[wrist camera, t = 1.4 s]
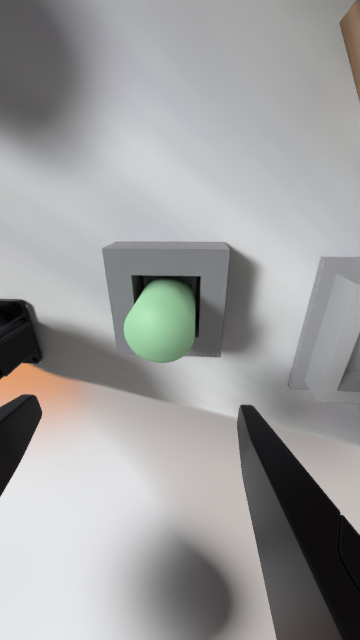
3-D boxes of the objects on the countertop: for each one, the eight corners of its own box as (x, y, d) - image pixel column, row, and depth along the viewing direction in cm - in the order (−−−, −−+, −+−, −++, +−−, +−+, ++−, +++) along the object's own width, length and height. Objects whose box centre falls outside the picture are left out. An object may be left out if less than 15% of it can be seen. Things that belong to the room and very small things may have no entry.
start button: (143, 325, 18) (127, 361, 14) (139, 275, 16) (119, 299, 12) (194, 327, 18) (194, 364, 14) (196, 276, 16) (195, 301, 12)
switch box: (128, 334, 21) (117, 353, 18) (116, 241, 17) (102, 248, 15) (217, 337, 20) (220, 357, 18) (224, 242, 17) (229, 249, 14)
